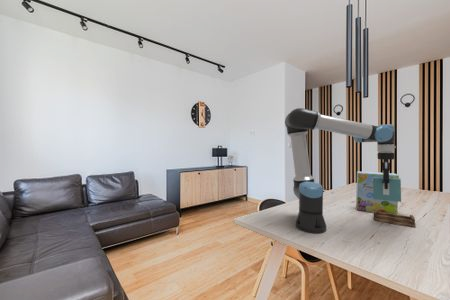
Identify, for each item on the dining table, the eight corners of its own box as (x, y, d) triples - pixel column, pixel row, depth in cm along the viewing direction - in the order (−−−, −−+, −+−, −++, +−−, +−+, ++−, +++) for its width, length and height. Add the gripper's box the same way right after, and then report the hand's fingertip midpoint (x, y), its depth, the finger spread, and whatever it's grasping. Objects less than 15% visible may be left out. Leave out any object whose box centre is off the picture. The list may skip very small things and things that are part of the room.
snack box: (356, 210, 136) (357, 172, 136) (355, 207, 144) (356, 171, 143) (398, 216, 126) (399, 174, 126) (394, 212, 134) (395, 172, 133)
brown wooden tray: (412, 221, 118) (412, 214, 118) (415, 227, 108) (415, 220, 108) (373, 214, 128) (373, 208, 128) (373, 220, 119) (373, 213, 119)
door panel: (401, 201, 109) (400, 179, 109) (373, 199, 117) (373, 178, 117) (400, 200, 113) (400, 178, 112) (373, 197, 120) (373, 177, 120)
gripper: (395, 152, 105) (395, 198, 106) (393, 151, 119) (394, 191, 119) (377, 152, 110) (377, 196, 110) (377, 151, 123) (377, 190, 124)
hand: (386, 193), depth 115 cm, fingers closed on door panel, 4 cm apart
